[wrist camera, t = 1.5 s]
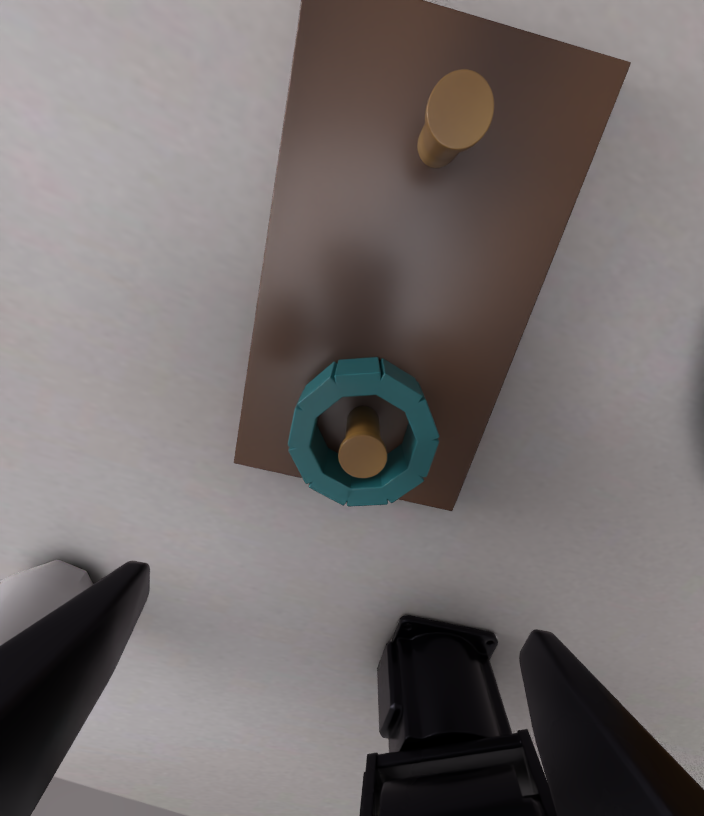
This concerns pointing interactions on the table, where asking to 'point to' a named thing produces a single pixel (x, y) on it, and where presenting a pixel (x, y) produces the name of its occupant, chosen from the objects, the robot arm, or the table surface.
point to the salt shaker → (37, 594)
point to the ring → (402, 462)
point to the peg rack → (414, 221)
